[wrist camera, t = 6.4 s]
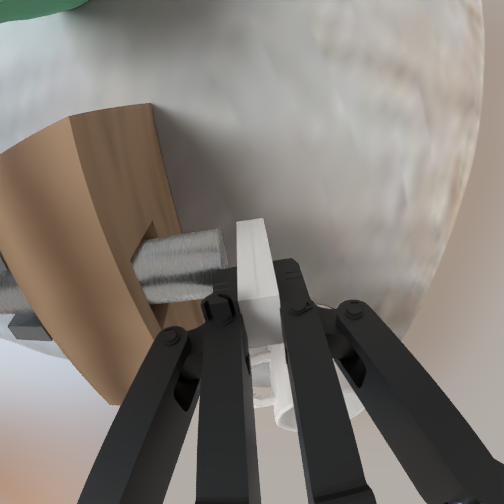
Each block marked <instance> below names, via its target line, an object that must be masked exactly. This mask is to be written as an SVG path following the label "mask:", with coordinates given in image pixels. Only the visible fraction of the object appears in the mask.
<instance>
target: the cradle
mask: <svg viewBox="0 0 504 504" xmlns="http://www.w3.org/2000/svg"><path fill="white" fill-rule="evenodd" d="M8 269H9V267H8V265H7V263H6V261H5V259H4V257H3V255H2V253H1V251H0V272H2V271H7V270H8ZM8 328H9V329H10V331H11V332H12V333H13V335H14V336H15V337H16V339H22V340H40V341H52V340H53V338H52V337H51V335H50V334H49V333H48V331H47V330H46V328H45V327H44V325H43V324H42V323H41V321H40V320H39V318H38V317H37V315H36V314H35V313H26V314H15V316H14V317H13V319H12V320H11V322H10V323H9V325H8Z"/></svg>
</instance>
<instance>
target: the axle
mask: <svg viewBox="0 0 504 504" xmlns="http://www.w3.org/2000/svg"><path fill="white" fill-rule="evenodd" d="M130 262H131V264H132V266H133V269H134V271H135V274H136V276H137V278H138V281H139V283H140V285H141V288H142V290H143V292H144V294H145V296H146V299H147V301H148V303H149V305H152V304H162V303H171V302H180V301H189V300H198V299H204V298H205V297H206V296H208V295H210V294H212V293H213V282H214V276H215V274H216V273H217V272H218V270H220V269H227V268H228V262H227V255H226V250H225V245H224V241H223V237H222V234H221V231H220V229H219V228H215V229H209V230H202V231H196V232H190V233H184V234H178V235H172V236H166V237H161V238H155V239H149V240H144V241H140V243H139V245H138V247H137V248H136V250H135V252H134V254H133V256H132V257H131V259H130ZM26 313H35V312H34V310H33V309H32V307H31V306H30V304H29V303H28V301H27V299H26V298H25V296H24V294H23V293H22V291H21V289H20V287H19V286H18V284H17V282H16V280H15V279H14V277H13V275H12V273H11V271H10V269H8V270H7V271H2V272H0V314H26Z"/></svg>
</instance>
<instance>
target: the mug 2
mask: <svg viewBox="0 0 504 504" xmlns="http://www.w3.org/2000/svg"><path fill="white" fill-rule="evenodd" d="M316 305H317V306H319V307H322V308H328V309H332V308H329V307H327V306H325V305H318V304H316ZM250 361H251V367H253V366H255V365H257V364H260V363H265V362H269V371H270V379H271V388H272V395H268V396H263V397H262V396H259V395H255V394H253V404H254V408H255V409H256V408H262V407H266V406H271V405H273V406H274V415H275V423H276V424H277V425H278V426H279V427H280V428H282V429H284V430H287V431H291V432H298V430H297V423H296V417H295V411H294V405H293V399H292V392H291V386H290V380H289V374H288V368H287V364H286V359H285V348H284V343H282V344H275V345H269V346H267V352H259V353H256V354H254V355H251V356H250ZM333 362H334V365H335V369H336V372H337V375H338V379H339V382H340V386H341V389H342V393H343V396H344V400H345V403H346V407H347V410H348V414H349V418H350V420H351V419H353V418H354V417H356V416H358V415H359V414H360V413H361V412H362V411H363V410H364V409H365V407H364V406H363V404H362V403H361V401H360V400H359V398H358V397H357V395H356V394H355V392H354V390H353V389H352V387H351V386H350V384H349V383H348V381H347V380H346V378H345V377H344V375H343V374H342V372H341V371H340V369H339V367H338V366H337V364H336V363H335V361H334V359H333Z"/></svg>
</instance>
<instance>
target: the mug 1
mask: <svg viewBox="0 0 504 504" xmlns="http://www.w3.org/2000/svg"><path fill="white" fill-rule="evenodd" d="M87 1H88V0H0V23H3V22H8V21H15V20H27V19H32V18H37V17H41V16H46V15H51V14H55V13H58V12H62V11H66V10H70V9H74V8H77V7H79V6H81V5H83V4H84V3H86V2H87Z"/></svg>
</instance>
